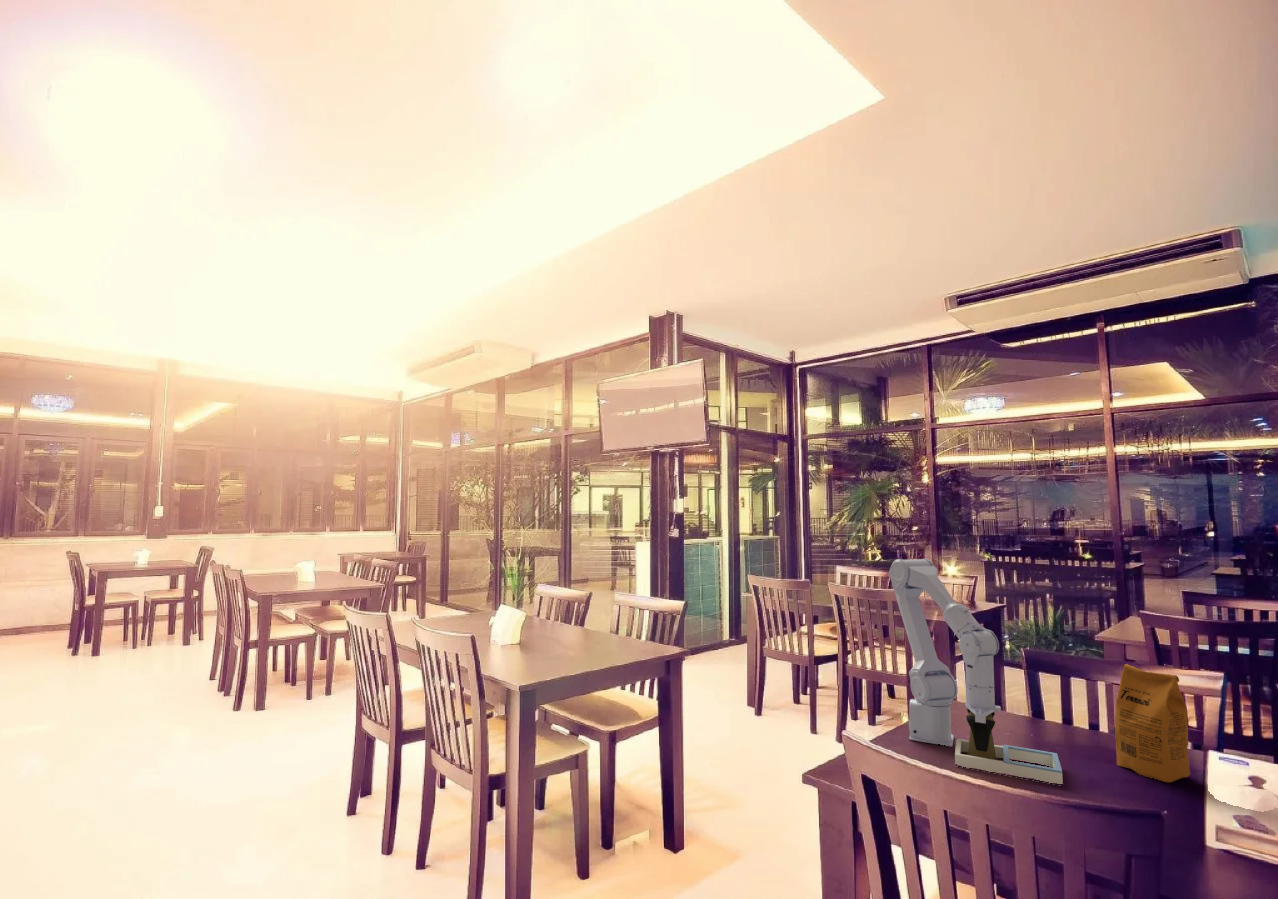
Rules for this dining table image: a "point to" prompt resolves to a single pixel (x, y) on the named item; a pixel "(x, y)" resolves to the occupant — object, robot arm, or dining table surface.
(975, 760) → the tray
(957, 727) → the dining table surface
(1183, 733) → the coffee package
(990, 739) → the olive tall tapered piece
